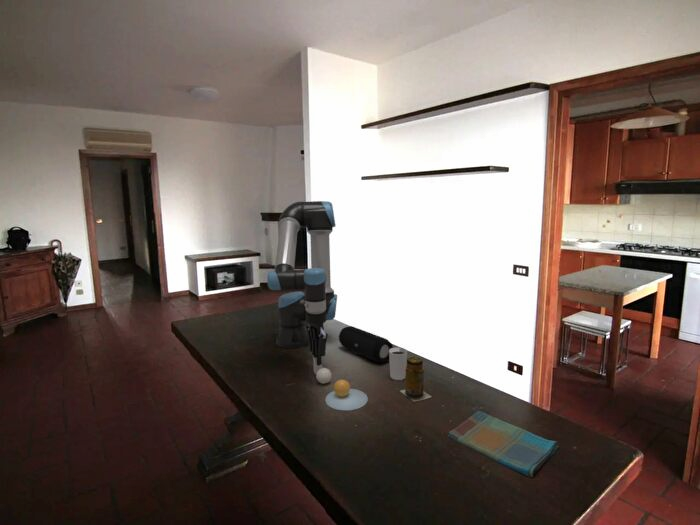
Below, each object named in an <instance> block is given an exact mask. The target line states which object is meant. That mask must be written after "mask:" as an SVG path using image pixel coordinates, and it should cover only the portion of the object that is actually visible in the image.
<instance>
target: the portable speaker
mask: <svg viewBox="0 0 700 525" xmlns="http://www.w3.org/2000/svg"><path fill="white" fill-rule="evenodd" d="M338 341H339V343H340V344H341V347H343V348H345V349H347V350H349V351H350V352H351V351H352V352H353V353H356V354H358V355H360V356H363V357H365V358H367V359H369V360H372V361H374V362H376V363H387V362H389V350H390V349H391V348H394V346H393V344H392V343H391V342H390V340H388V339H387V338H385V337H382V336H379V335H377V334H375V333H371V332H368V331H366V330H363V329H361V328H358V327H356V326H346V327H343V328H342V329H341V330H340V332H339V334H338Z"/></svg>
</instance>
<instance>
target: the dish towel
mask: <svg viewBox="0 0 700 525" xmlns="http://www.w3.org/2000/svg"><path fill="white" fill-rule="evenodd" d="M447 437H448V438H449V439H451V440H452V441H455V442H456V443H458V444H460V445H463V446H464V447H467V448H468V449H469V448H470V449H471V450H473V451H474V452H477V453H479V454H481V455H482V456H483V455H484V456H485V457H487V458H489V459H491V460H492V461H494V462H497V463H498V464H500V465H502V466H505V467H507V468H509V469H511V470H513V471H515V472H517V473H520V474H522V475H524V476H526V477H530V478H534V475H535V474H536V472H537V471H538V470H540V468H541V467H542V465H543V464H544V463H546V462H547V461H548V460H549V458H551V457H552V456H553V455H555V453H556V452H557V451H558V448H560V446H559V445H557V440H556V441H555V440H549V439H546V438H544V437H542V436H540V435H536V434H534V433H532V432H530V431H528V430H526V429H524V428H522V427H519V426H516V425H514V424H511V423H509V422H506V421H504V420H501V419H499V418H497V417H494V416H492V415H490V414H487V413H485V412H483V411H482V410H477V411H476V412H474V413H473V414H472V415H470V416H469V417H468V418H466V419H465V420H464V421H462V422H461V423H460V424H459V425H457V426H456V427H455V428H453V429H452V430H450V431H448V434H447Z"/></svg>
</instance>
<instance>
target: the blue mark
mask: <svg viewBox="0 0 700 525" xmlns="http://www.w3.org/2000/svg"><path fill="white" fill-rule="evenodd" d="M368 400H369V398H368V396H367V394H366V393H365V392H363V391H361V390H359V389H356V388H350V391H349V393H348V394H347V395H346V396H344V397H340V396H338V395H336V393H335V392H334V390H333V391H330V392H329V393H327V394H326V396H325V404H326V405H327V407H329V408H330V409H334V410H337V411H345V412H347V411H355V410H359V409H360V408H362V407H364V406H365V405H367V403H368Z"/></svg>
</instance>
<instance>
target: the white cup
mask: <svg viewBox="0 0 700 525" xmlns="http://www.w3.org/2000/svg"><path fill="white" fill-rule="evenodd" d="M407 359H408V349H406V348H404V347H397V346H396V347H393V348H391V349H390V350H389V360H388V362H389V375H390V376H389V377H390V378H391V379H392V380H394V381H395V380H396V381H402V380H404V379H405V380H406V366H407Z"/></svg>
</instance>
